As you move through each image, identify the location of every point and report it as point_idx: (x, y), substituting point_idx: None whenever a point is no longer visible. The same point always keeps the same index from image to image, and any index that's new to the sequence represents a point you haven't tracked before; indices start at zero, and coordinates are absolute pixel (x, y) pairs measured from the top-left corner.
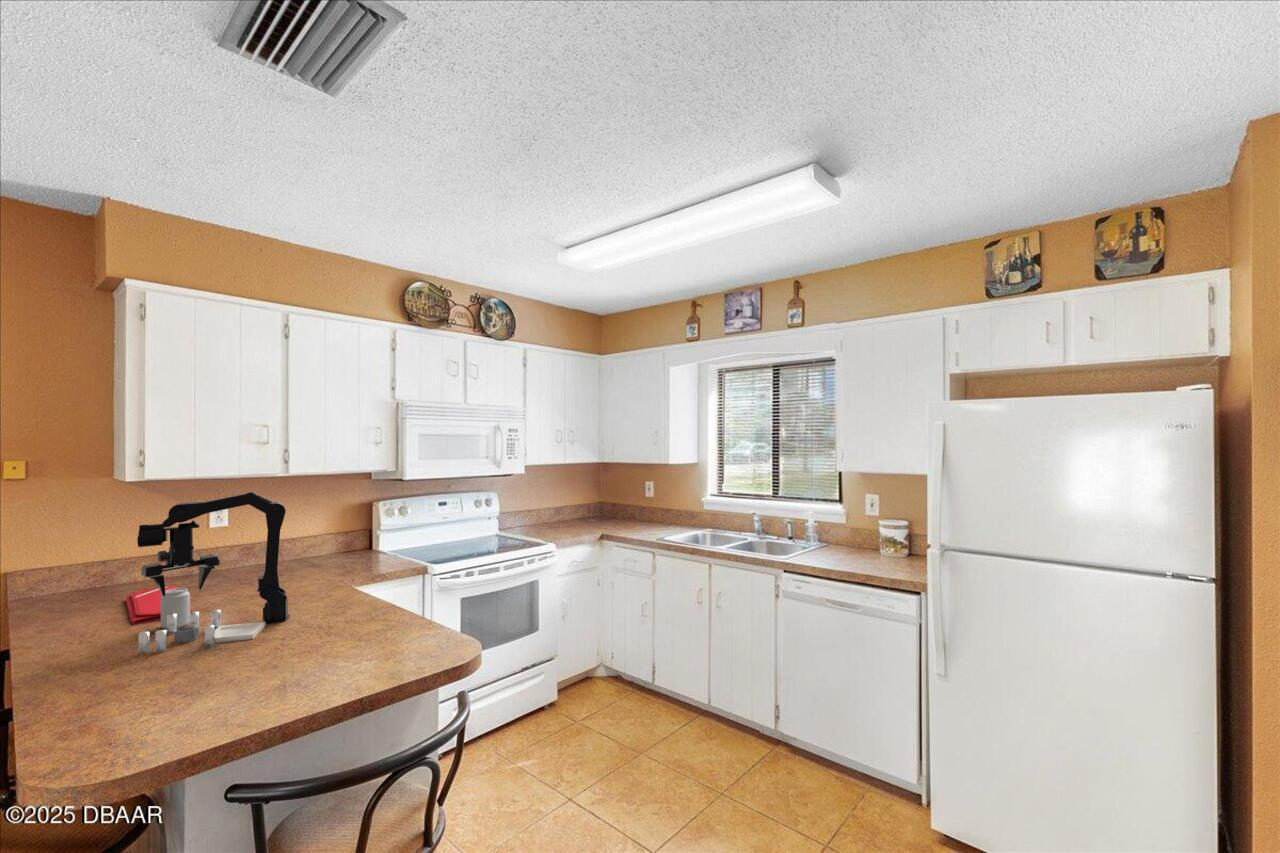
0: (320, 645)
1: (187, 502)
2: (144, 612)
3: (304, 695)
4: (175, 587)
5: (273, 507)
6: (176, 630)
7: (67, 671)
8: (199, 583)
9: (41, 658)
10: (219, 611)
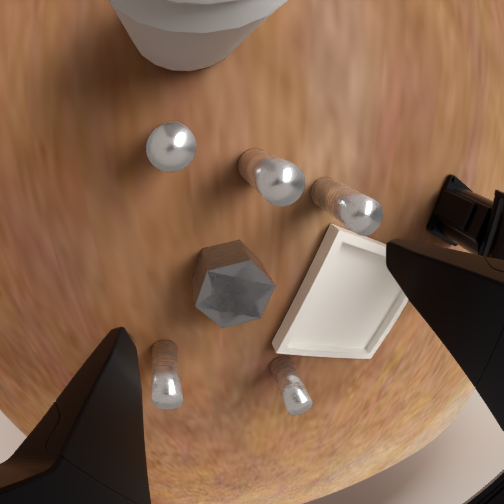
0: (403, 406)
1: None
2: None
3: (321, 488)
4: None
5: None
6: (200, 299)
7: (4, 365)
8: (420, 288)
9: None
10: (372, 229)
